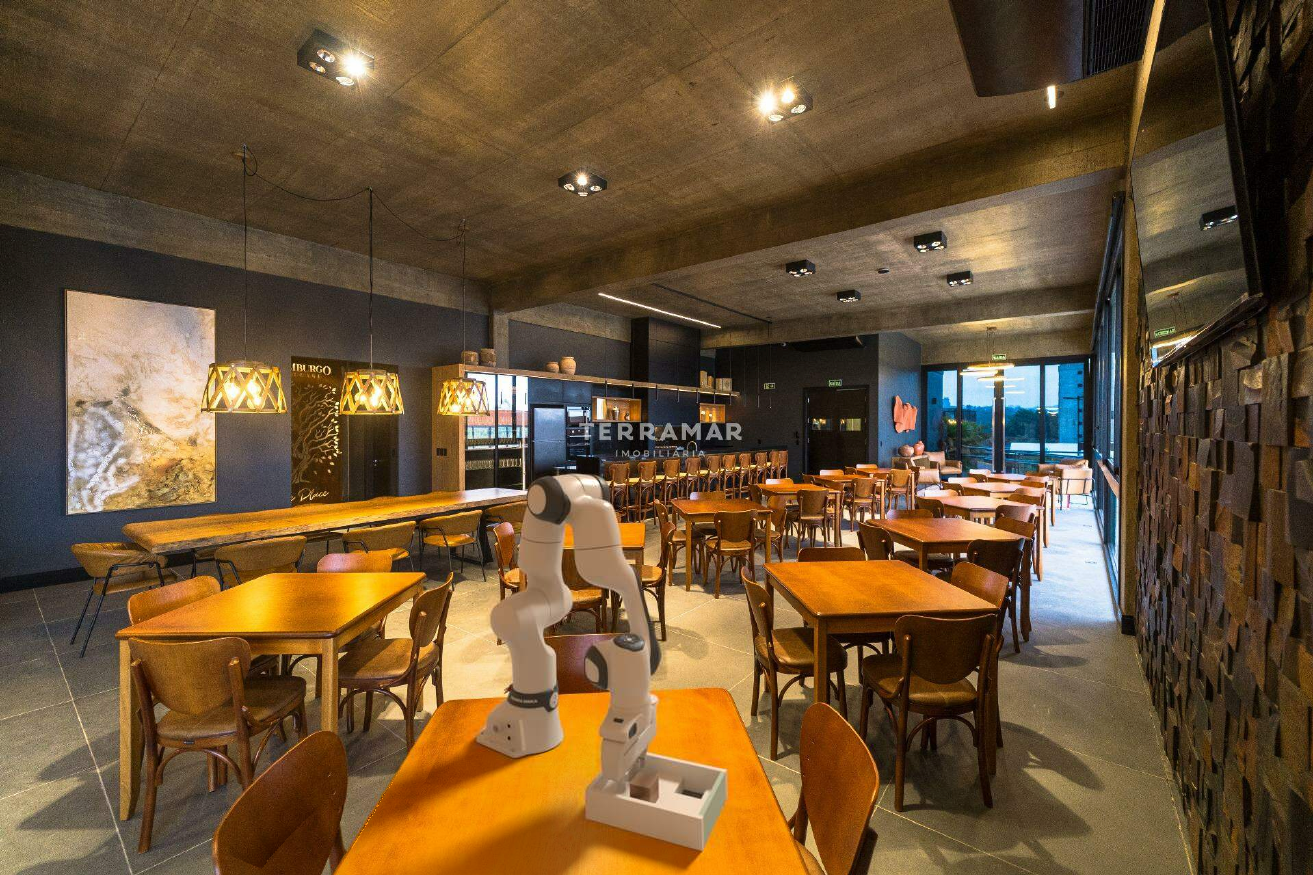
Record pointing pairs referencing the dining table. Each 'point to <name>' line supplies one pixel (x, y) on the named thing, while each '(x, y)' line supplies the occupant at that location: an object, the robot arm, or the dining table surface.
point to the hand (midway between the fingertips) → (632, 777)
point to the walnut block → (645, 787)
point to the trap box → (663, 801)
